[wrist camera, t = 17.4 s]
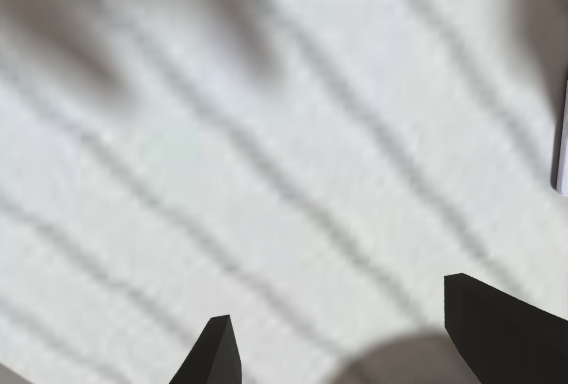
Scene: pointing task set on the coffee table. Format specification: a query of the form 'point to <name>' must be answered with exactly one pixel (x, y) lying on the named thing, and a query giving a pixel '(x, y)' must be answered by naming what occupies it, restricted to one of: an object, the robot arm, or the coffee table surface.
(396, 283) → the coffee table surface
